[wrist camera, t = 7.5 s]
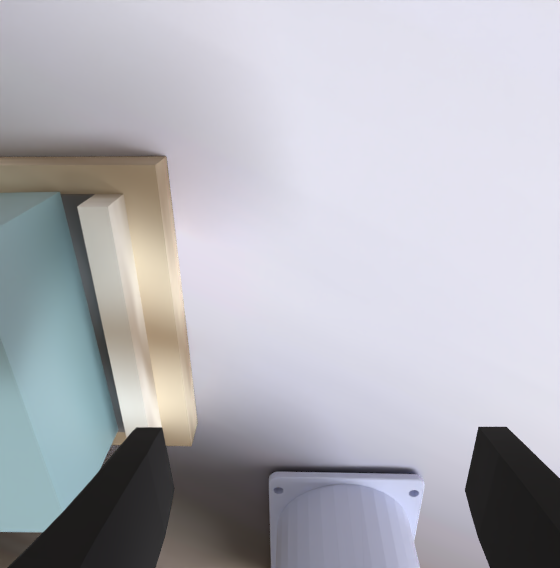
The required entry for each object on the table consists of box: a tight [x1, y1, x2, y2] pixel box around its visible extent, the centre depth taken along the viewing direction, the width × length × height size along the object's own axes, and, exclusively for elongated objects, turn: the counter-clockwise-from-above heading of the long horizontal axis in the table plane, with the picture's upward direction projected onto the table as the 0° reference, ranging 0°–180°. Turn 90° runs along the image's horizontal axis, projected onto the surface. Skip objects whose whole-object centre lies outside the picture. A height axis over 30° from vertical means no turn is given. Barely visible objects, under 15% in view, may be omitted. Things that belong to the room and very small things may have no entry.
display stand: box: [0, 156, 197, 446], centre depth 19 cm, size 13×11×3 cm
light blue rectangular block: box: [0, 192, 118, 532], centre depth 16 cm, size 11×4×5 cm, turn 2°
